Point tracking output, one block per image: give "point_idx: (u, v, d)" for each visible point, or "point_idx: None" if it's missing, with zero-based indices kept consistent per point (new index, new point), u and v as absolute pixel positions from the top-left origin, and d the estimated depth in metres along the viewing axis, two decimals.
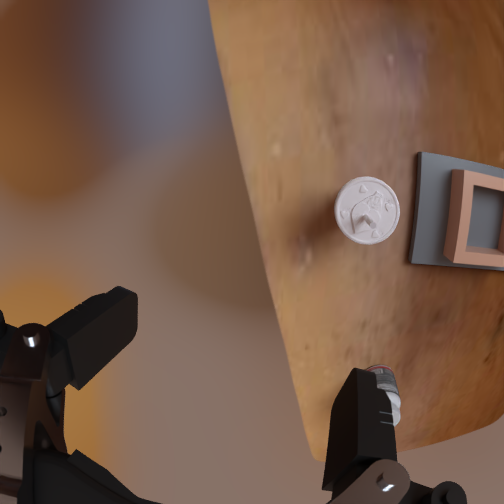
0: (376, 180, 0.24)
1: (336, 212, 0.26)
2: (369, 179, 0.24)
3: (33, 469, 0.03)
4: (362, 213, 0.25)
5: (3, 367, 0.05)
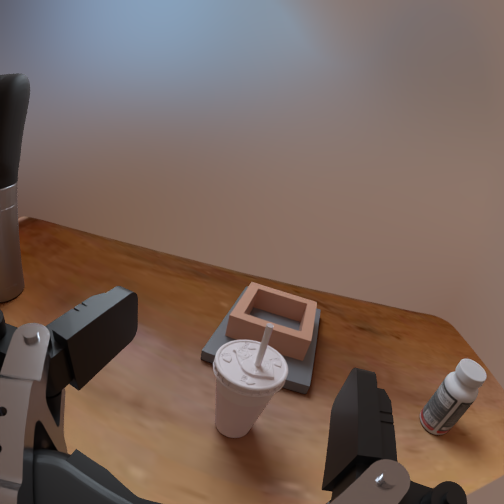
0: (222, 346, 0.24)
1: (246, 387, 0.21)
2: (219, 351, 0.24)
3: (33, 469, 0.03)
4: (253, 365, 0.23)
5: (3, 367, 0.05)
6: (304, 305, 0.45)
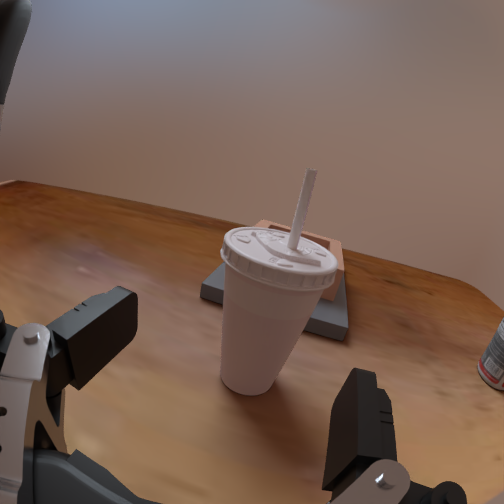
0: (234, 229, 0.17)
1: (279, 267, 0.13)
2: (230, 231, 0.16)
3: (33, 469, 0.03)
4: (285, 247, 0.15)
5: (3, 367, 0.05)
6: (326, 243, 0.37)
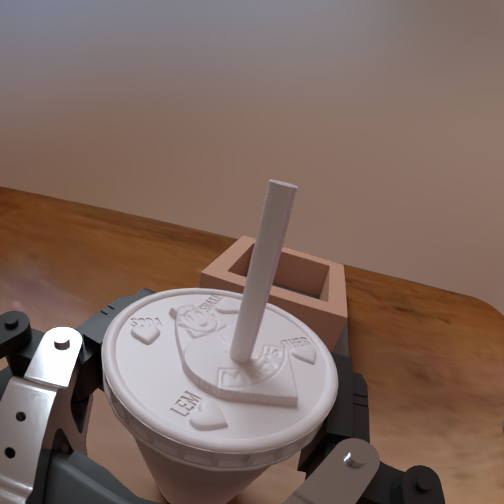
0: (140, 299, 0.08)
1: (188, 439, 0.04)
2: (127, 309, 0.08)
3: None
4: (224, 358, 0.07)
5: (28, 370, 0.05)
6: (325, 268, 0.29)
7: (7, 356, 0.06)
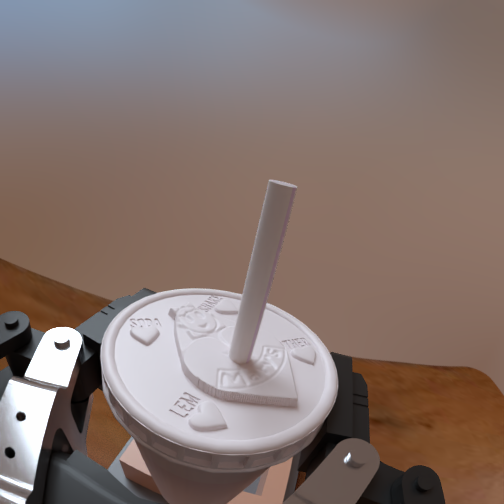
0: (140, 300, 0.08)
1: (187, 440, 0.04)
2: (126, 310, 0.08)
3: None
4: (224, 358, 0.07)
5: (28, 370, 0.05)
6: None
7: (7, 356, 0.06)
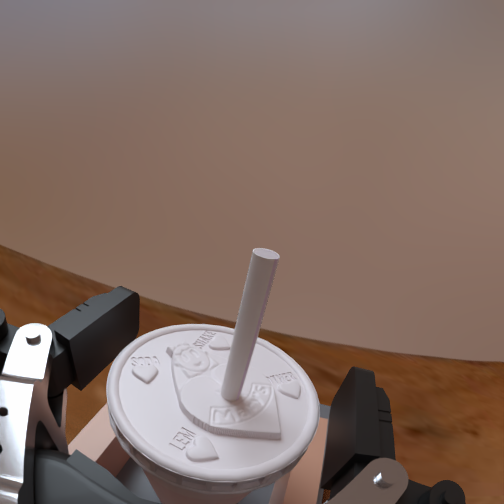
0: (139, 338, 0.09)
1: (184, 470, 0.05)
2: (127, 348, 0.08)
3: (33, 469, 0.03)
4: (216, 396, 0.07)
5: (4, 367, 0.05)
6: None
7: None
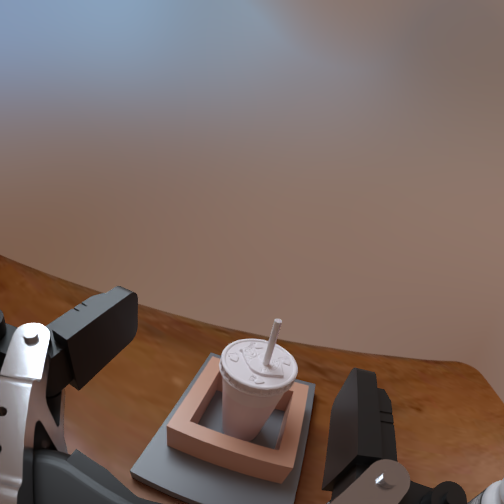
0: (228, 346, 0.23)
1: (255, 386, 0.20)
2: (225, 350, 0.23)
3: (33, 469, 0.03)
4: (261, 364, 0.22)
5: (3, 367, 0.05)
6: (289, 393, 0.28)
7: None
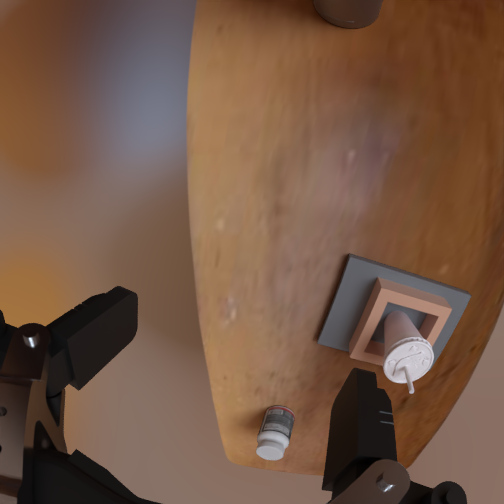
0: (425, 344, 0.27)
1: (386, 361, 0.29)
2: (420, 343, 0.27)
3: (33, 469, 0.03)
4: (404, 365, 0.28)
5: (3, 367, 0.05)
6: None
7: None
